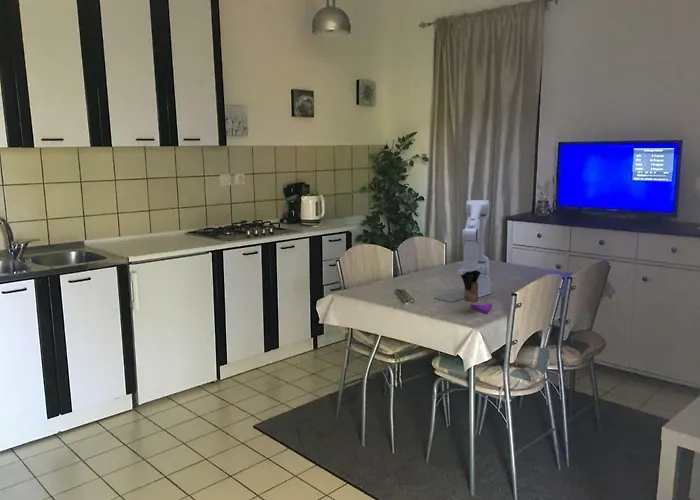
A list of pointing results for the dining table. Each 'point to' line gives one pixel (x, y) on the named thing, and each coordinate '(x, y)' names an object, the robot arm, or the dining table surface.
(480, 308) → the arrowhead
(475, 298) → the tall wooden plank
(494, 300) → the dining table surface
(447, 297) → the rubber mat
